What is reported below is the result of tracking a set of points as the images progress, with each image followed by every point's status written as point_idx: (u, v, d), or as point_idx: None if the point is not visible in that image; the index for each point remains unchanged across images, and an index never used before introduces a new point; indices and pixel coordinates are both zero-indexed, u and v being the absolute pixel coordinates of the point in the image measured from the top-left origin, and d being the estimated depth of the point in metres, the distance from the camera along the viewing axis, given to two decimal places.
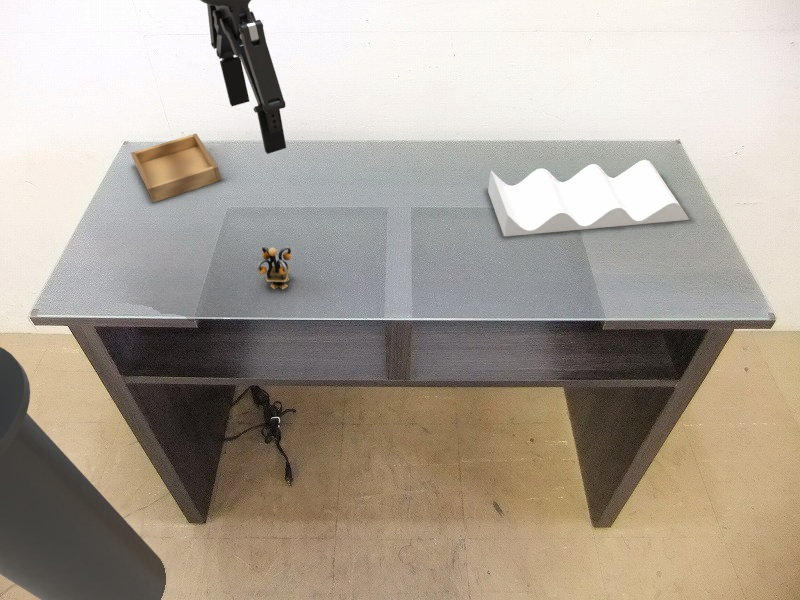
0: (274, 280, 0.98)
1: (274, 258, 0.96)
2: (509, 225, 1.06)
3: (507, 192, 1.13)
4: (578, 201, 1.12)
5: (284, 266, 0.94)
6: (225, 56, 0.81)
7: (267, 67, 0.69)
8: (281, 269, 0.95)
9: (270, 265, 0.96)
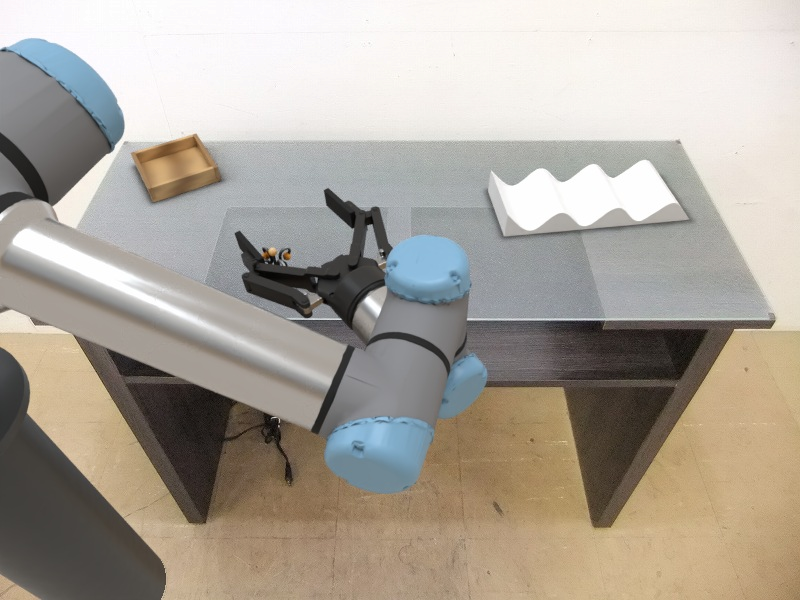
0: None
1: (274, 258, 0.96)
2: (509, 225, 1.06)
3: (507, 192, 1.13)
4: (578, 201, 1.12)
5: None
6: None
7: (275, 299, 0.71)
8: None
9: None
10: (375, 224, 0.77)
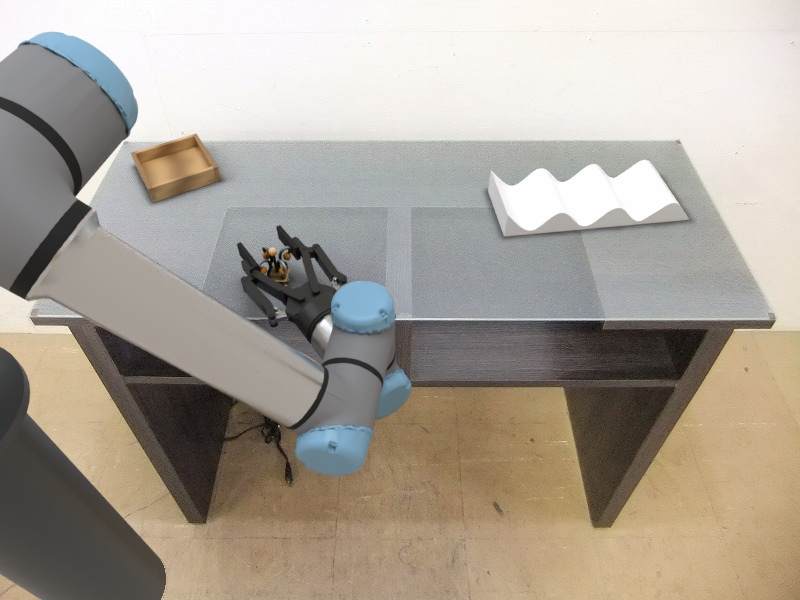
0: None
1: (274, 258, 0.96)
2: (509, 225, 1.06)
3: (507, 192, 1.13)
4: (578, 201, 1.12)
5: (284, 266, 0.94)
6: (301, 253, 0.96)
7: (257, 304, 0.90)
8: (281, 269, 0.95)
9: (270, 265, 0.96)
10: (321, 258, 0.94)
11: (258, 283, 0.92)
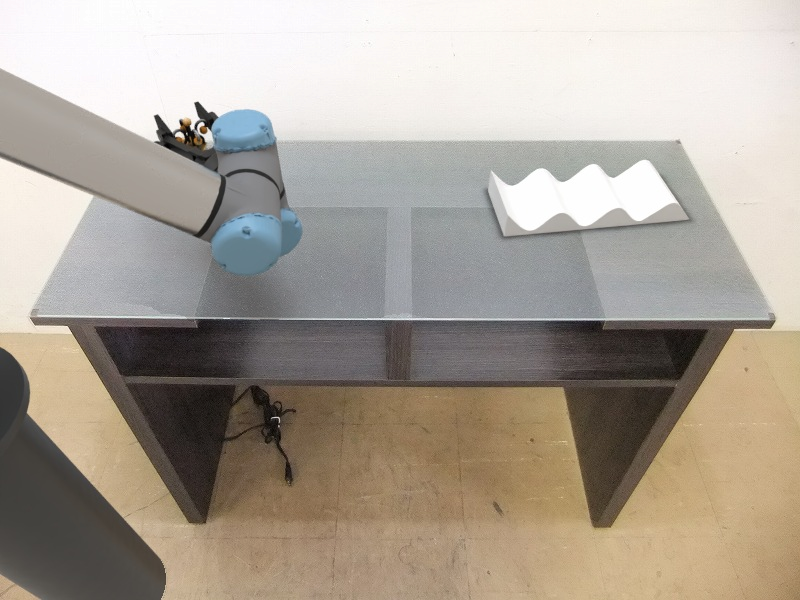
0: None
1: (189, 129, 0.99)
2: (509, 225, 1.06)
3: (507, 192, 1.13)
4: (578, 201, 1.12)
5: (197, 135, 0.98)
6: None
7: None
8: (195, 139, 0.99)
9: (185, 136, 0.99)
10: None
11: (170, 148, 0.96)
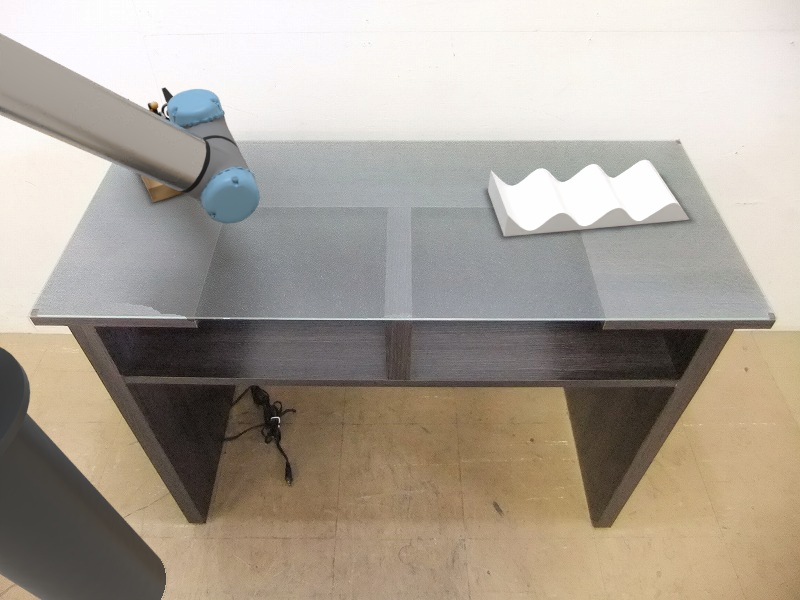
0: None
1: (156, 112, 1.10)
2: (509, 225, 1.06)
3: (507, 192, 1.13)
4: (578, 201, 1.12)
5: (163, 116, 1.09)
6: None
7: None
8: None
9: None
10: None
11: None
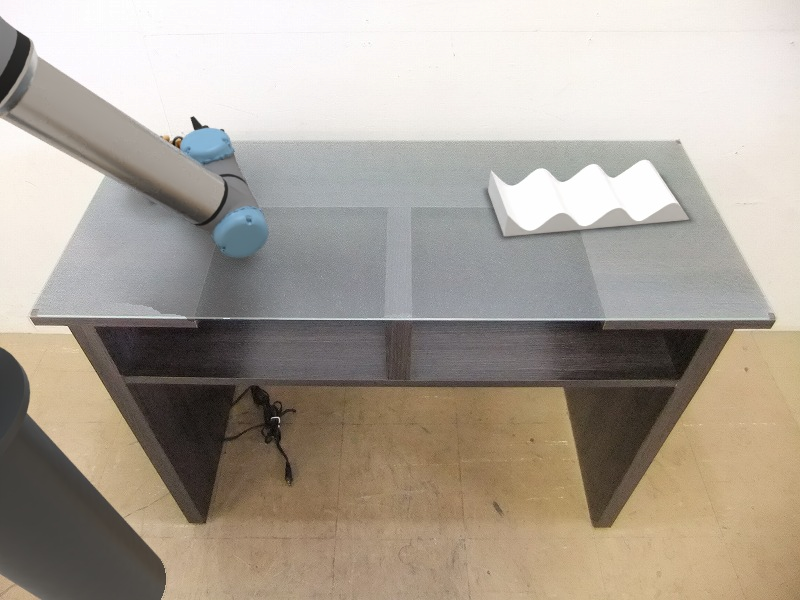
0: None
1: None
2: (509, 225, 1.06)
3: (507, 192, 1.13)
4: (578, 201, 1.12)
5: None
6: None
7: None
8: None
9: None
10: None
11: None
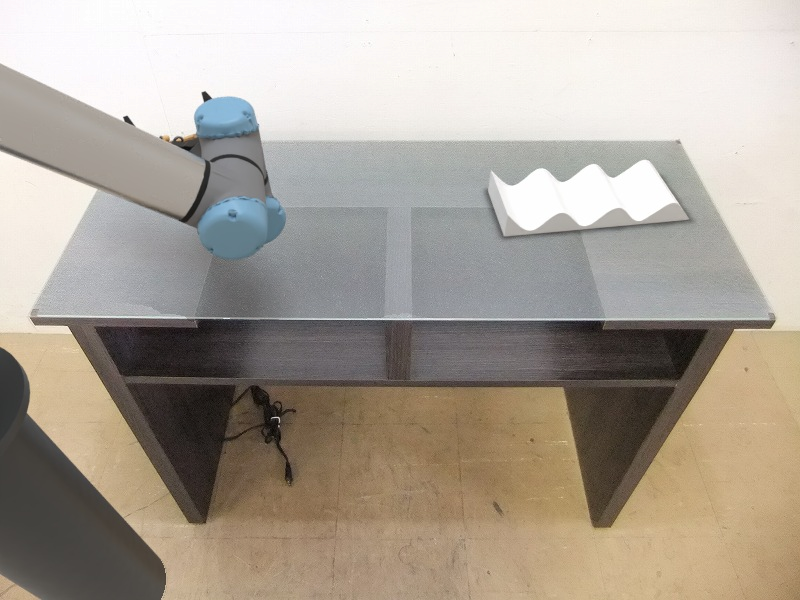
0: None
1: None
2: (509, 225, 1.06)
3: (507, 192, 1.13)
4: (578, 201, 1.12)
5: None
6: None
7: None
8: None
9: None
10: None
11: None
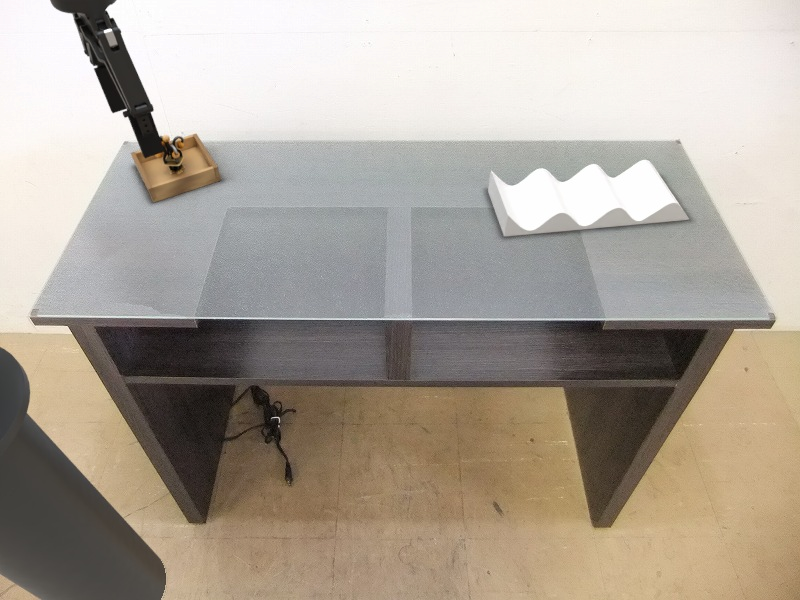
0: (170, 164, 1.17)
1: (168, 144, 1.16)
2: (509, 225, 1.06)
3: (507, 192, 1.13)
4: (578, 201, 1.12)
5: (175, 149, 1.14)
6: (99, 63, 0.82)
7: (130, 72, 0.70)
8: (173, 153, 1.15)
9: (165, 150, 1.16)
10: (81, 38, 0.79)
11: None
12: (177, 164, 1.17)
